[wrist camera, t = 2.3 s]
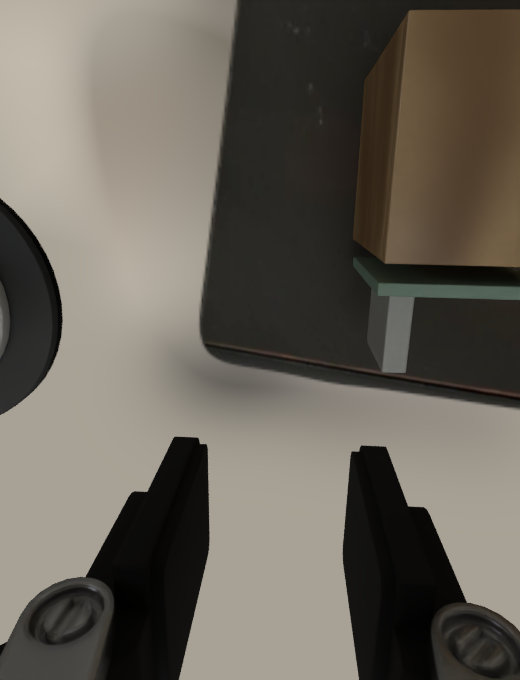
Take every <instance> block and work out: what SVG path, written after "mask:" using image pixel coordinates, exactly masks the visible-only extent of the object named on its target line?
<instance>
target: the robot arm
mask: <svg viewBox="0 0 520 680" xmlns="http://www.w3.org/2000/svg"><path fill="white" fill-rule="evenodd" d="M9 330H10V313H9V304H8V300H7V297H6V294H5V290H4V287H3V285H2V283H1V281H0V358H1V357H2V355H3V353H4V351H5V348H6V345H7V342H8V338H9ZM208 496H209V493H208V449H207V445H206V444H200V442H199V439H198V438H192V437H174V438H173V440H172V442H171V444H170V446H169V449H168V451H167V453H166V455H165V457H164V459H163V461H162V463H161V465H160V467H159V469H158V471H157V473H156V475H155V477H154V480H153V481H152V483H151V486H150V488H149V490H148V492H136V491H135V492H132V493H131V495H130V496H129V497H128V499H127V501H126V503H125V505H124V507H123V509H122V510H121V512H120V514H119V516H118V518H117V520H116V522H115V523H114V525H113V527H112V529H111V531H110V533H109V535H108V536H107V538H106V540H105V542H104V544H103V546H102V547H101V550H100V551H99V553H98V555H97V557H96V559H95V560H94V562H93V564H92V566H91V568H90V570H89V572H88V573H87V575H86V577H78V578H71V579H66V580H64V581H61V582H58V583H55V584H53V585H51V586H50V587H48V588H46V589H45V590H43V591H42V592H40V593H39V594H38V595H37V596H36V597H35V598H33V599H32V600H31V601H30V602H29V603H28V605H27V606H26V608H25V609H24V611H23V612H22V614H21V616H20V617H19V619H18V621H17V624H16V625H15V628H14V629H13V632H12V634H11V636H10V638H9V639H8V642H6V643H4V644H2V645H0V680H179V676H180V672H181V667H182V664H183V659H184V655H185V651H186V646H187V642H188V638H189V634H190V629H191V625H192V621H193V617H194V612H195V608H196V604H197V599H198V595H199V591H200V586H201V582H202V578H203V574H204V570H205V565H206V561H207V556H208V551H209V497H208ZM343 564H344V573H345V579H346V587H347V594H348V602H349V609H350V616H351V623H352V631H353V638H354V646H355V653H356V660H357V667H358V675H359V680H520V632H519V630H518V629H517V628H516V627H515V626H514V625H513V624H512V623H510V622H509V621H508V620H506V619H505V618H504V617H502V616H501V615H500V614H498V613H496V612H493V611H492V610H490V609H488V608H485V607H483V606H479V605H475V604H472V603H467V602H466V600H465V597H464V595H463V593H462V590H461V588H460V585H459V583H458V581H457V578H456V576H455V574H454V571H453V569H452V566H451V564H450V562H449V559H448V557H447V555H446V552H445V550H444V548H443V545H442V543H441V541H440V538H439V536H438V534H437V531H436V529H435V527H434V524H433V522H432V519H431V517H430V515H429V513H428V511H427V510H426V509H425V508H424V507H408V505H407V502H406V500H405V497H404V494H403V491H402V489H401V486H400V483H399V481H398V478H397V475H396V472H395V470H394V467H393V464H392V462H391V459H390V456H389V453H388V451H387V449H386V447H379V446H361V447H360V451H359V452H352V453H351V459H350V470H349V482H348V495H347V506H346V518H345V529H344V541H343Z"/></svg>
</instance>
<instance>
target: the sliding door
mask: <svg viewBox="0 0 520 680" xmlns="http://www.w3.org/2000/svg"><path fill="white" fill-rule="evenodd" d="M353 267H354V268H355V269H356V270H357V271H358V273H359V274H360V275H361V276H362V277H363V279H364V280H365V281H366V282H367V284H368V285H369V286H370V287H371V288H372V290H371V301H370V312H369V323H368V335H367V343H368V345H369V347H370V349H371V351H372V353H373V355H374V357H375V359H376V361H377V363H378V365H379V367H380V369H381V371H382V372H391V373H405V372H406V366H407V357H408V349H409V340H410V332H411V324H412V315H413V307H414V298H415V297H433V298H468V299H502V300H520V272H519V271H516V270H513V269H510V268H508V267H496V266H457V265H417V264H385V263H384V262H382V261H381V260H380V259H379V258H377V257H354V258H353Z"/></svg>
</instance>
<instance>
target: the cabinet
mask: <svg viewBox="0 0 520 680" xmlns="http://www.w3.org/2000/svg"><path fill="white" fill-rule="evenodd" d="M353 240H355V241H356V242H358V243H359V244H360V245H362V246H363V247H364V248H365V249H367V250H368V251H369V252H371V253H372V254H373V255H375V256H376V257H377V258H379V259H380V260H381V261H382V262H384V263H385V264H417V265H457V266H496V267H520V9H498V10H409V11H408V13H407V14H406V16H405V18H404V19H403V21H402V23H401V24H400V26H399V27H398V29H397V30H396V32H395V34H394V35H393V37H392V38H391V40H390V41H389V43H388V45H387V46H386V48H385V49H384V51H383V52H382V54H381V56H380V57H379V59H378V60H377V62H376V63H375V65H374V66H373V68H372V70H371V71H370V73H369V74H368V76H367V77H366V79H365V81H364V95H363V108H362V122H361V135H360V148H359V162H358V175H357V189H356V202H355V215H354V229H353Z"/></svg>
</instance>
